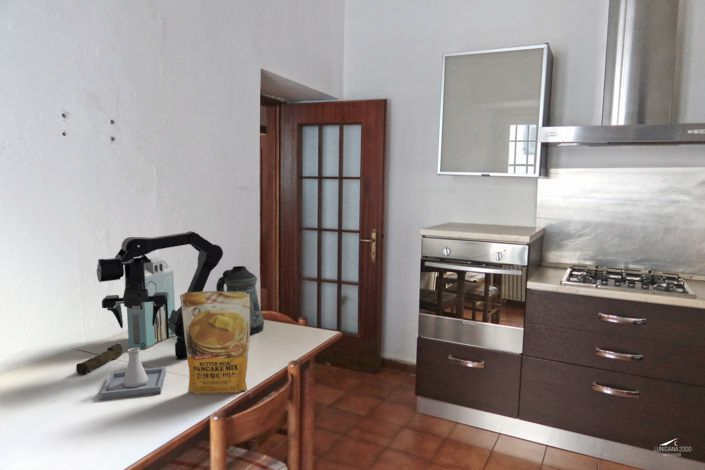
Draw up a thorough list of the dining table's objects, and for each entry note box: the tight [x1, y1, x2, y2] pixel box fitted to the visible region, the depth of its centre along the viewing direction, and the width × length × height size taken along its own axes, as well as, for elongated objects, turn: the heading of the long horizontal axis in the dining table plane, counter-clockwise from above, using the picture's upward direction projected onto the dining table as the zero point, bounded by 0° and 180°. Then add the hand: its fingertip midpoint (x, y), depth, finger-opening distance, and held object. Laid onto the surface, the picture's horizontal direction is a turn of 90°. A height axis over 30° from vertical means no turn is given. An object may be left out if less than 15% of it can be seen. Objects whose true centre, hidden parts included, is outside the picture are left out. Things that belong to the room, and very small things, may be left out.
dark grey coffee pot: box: [215, 265, 265, 336], centre depth 196 cm, size 16×19×25 cm
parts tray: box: [100, 366, 167, 401], centre depth 144 cm, size 15×15×2 cm
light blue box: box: [126, 256, 176, 350], centre depth 183 cm, size 16×8×30 cm, turn 162°
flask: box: [122, 347, 149, 388], centre depth 144 cm, size 7×7×10 cm
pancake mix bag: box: [179, 290, 251, 395], centre depth 140 cm, size 7×19×28 cm, turn 92°
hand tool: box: [75, 342, 124, 376], centre depth 162 cm, size 19×4×5 cm, turn 165°
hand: (137, 326), depth 158 cm, fingers open, 9 cm apart
